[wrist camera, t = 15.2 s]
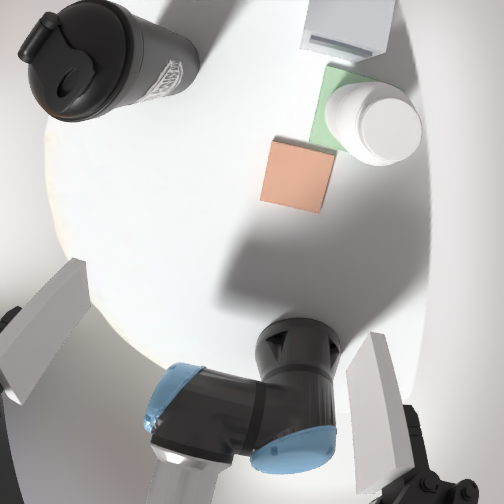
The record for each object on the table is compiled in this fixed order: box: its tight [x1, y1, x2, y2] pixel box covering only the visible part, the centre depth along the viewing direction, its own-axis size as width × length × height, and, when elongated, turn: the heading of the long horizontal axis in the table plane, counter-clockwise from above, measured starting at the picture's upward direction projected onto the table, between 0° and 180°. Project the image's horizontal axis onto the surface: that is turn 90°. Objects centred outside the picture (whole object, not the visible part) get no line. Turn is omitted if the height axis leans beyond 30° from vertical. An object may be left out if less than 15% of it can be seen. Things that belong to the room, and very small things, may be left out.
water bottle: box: [18, 0, 199, 122], centre depth 24 cm, size 10×10×23 cm
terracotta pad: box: [260, 141, 335, 213], centre depth 40 cm, size 8×8×1 cm
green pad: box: [309, 66, 404, 152], centre depth 35 cm, size 10×10×1 cm
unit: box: [300, 0, 395, 63], centre depth 24 cm, size 10×7×13 cm
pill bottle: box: [325, 82, 422, 166], centre depth 28 cm, size 8×8×15 cm
